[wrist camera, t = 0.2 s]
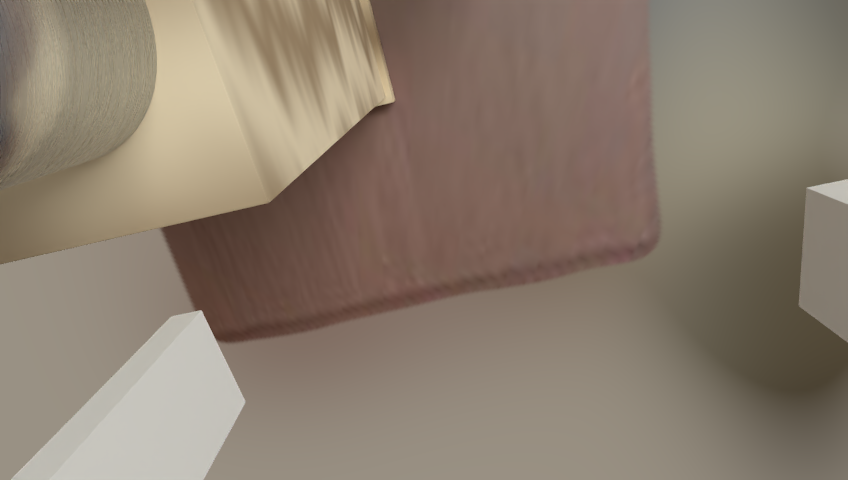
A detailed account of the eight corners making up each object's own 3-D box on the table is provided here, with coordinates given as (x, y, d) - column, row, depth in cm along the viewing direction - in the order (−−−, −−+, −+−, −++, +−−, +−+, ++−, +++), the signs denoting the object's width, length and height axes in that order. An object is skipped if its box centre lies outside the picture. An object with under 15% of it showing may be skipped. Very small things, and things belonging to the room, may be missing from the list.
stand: (234, -25, 34) (-338, -213, 9) (354, -60, 33) (76, -385, 8) (286, 127, 38) (-13, 285, 13) (395, 100, 37) (294, 216, 12)
